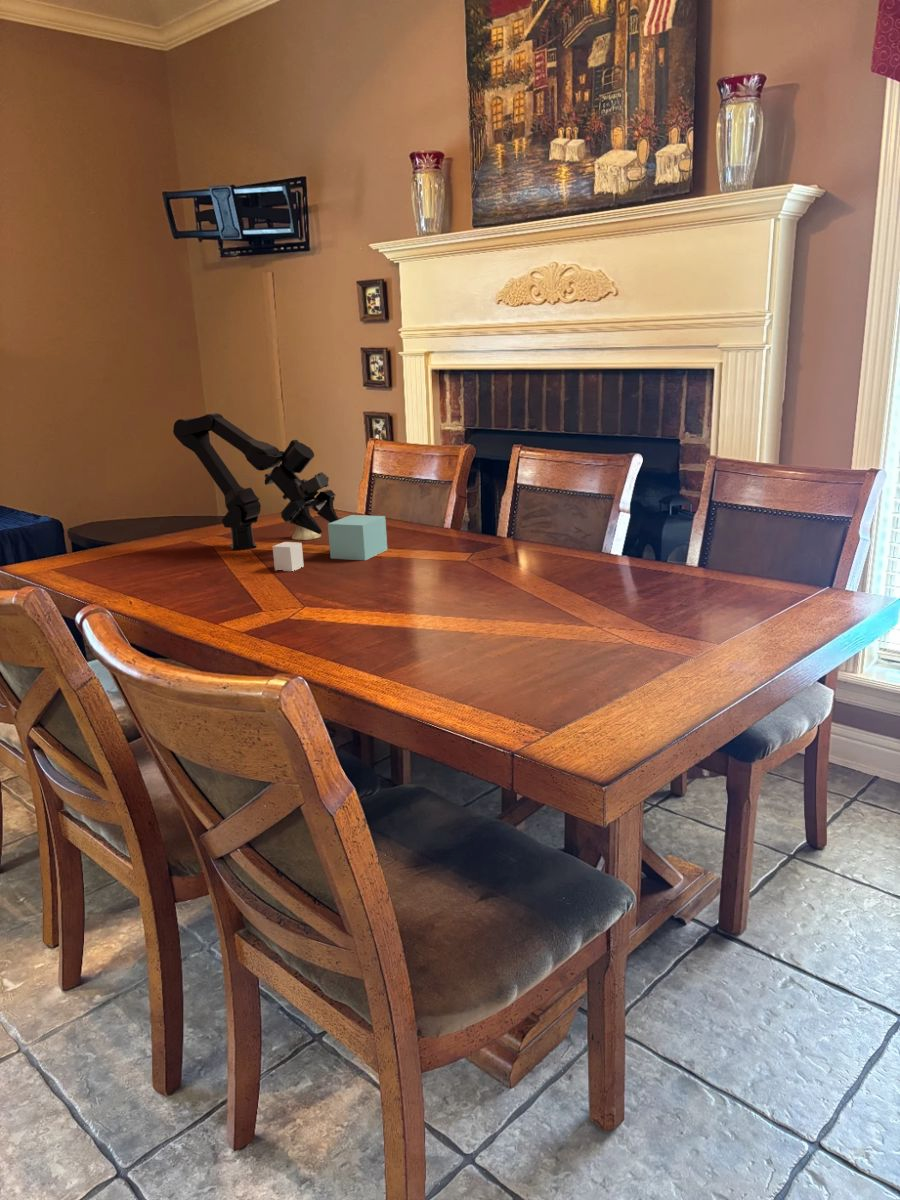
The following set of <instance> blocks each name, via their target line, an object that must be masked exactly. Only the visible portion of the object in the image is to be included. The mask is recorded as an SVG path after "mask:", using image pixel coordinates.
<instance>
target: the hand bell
mask: <svg viewBox="0 0 900 1200" xmlns="http://www.w3.org/2000/svg"><path fill="white" fill-rule="evenodd" d="M321 537H322V533H320V534H318V533H315V532H313V531H311V530H308V529H306V528H304V527H301V526H298V525H296V529H295V532H294V534H293V535H292V536H291V539H292V540H294V541H309V540H315V539H319V538H321Z"/></svg>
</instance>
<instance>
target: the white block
mask: <svg viewBox="0 0 900 1200" xmlns="http://www.w3.org/2000/svg"><path fill="white" fill-rule="evenodd" d="M271 547H272V556H273V563H274V565H273V566H274V571H277V570H283V571H282V572H291V571H293V572H295V571H297V570H299V569H301V567H302V568H304V567H305V565H304V555H303V544H302V542H294V541H283V542H280V543H278V544H275V545H272V546H271ZM294 570H295V571H294Z"/></svg>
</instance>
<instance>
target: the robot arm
mask: <svg viewBox="0 0 900 1200" xmlns="http://www.w3.org/2000/svg"><path fill="white" fill-rule="evenodd" d="M210 432H213V433H214V434H215V435H217V436H218V437H220V438H221V439H222V440H224V441H225V442H227V443H228V444H229V445H231V446H232V447H233V448H235V449H237V450H238V451H239V452H241V453H242V454H243V455H244V457H245V458H246V461H247V462H248V463H249V465H250V464H251V466H252V467H253V468H254V469H255V470H257V471H262V472H263V471H267V470H270V469H272V470H271V471H270V472H268V473H265V474H264V485H272V484H274V485H276V487H277V488H278V489H279V490H280V492H281V493H282V494H283V495H282V498H283V500H289V502H288V503H287V504H286V506H285V507H284V508H283V509H282V511H280V515H281V519H282V520H283V521H284V522H285V523H286V524H287V523H289V524H291V525H296V526H297V525H298V526H301V527H304V528H306V529H308V530H311V531H313V532H315V533H318V534H322V533H323V530H322V528H321V527H320V526H319V524H318V522H316V520H315V519H314V517H313V516H312V515H311V513H310V509H313V510H314V511H315V512H317V513H316V514H317V515H318V516H319V517H321V518H322V519H324V520H326V521H327V522H328V523H331V522H334V521H337V520H339V517H338V515H337V513H336V510H335V508H334V502H335V498H336V493H334V491H333V490H332V489H325V490H322V489H323V488H327V487H329V486H330V485H329V479H330V478H329V476H327V475H326V474H325V473H324V472H323V471H322V472H318V473H317V474H314V476H313V477H312V478H310V479H308V480H307V479H304V478H303V479H301V478H300V477H299V476H298V475H297V474H301V473H303V471H304V470H305V469H306V467H308V465H309V464H310V462H311V461H312V460H313V459H314V457H315V453H314V450H312V448H311V447H310V446H307V445H306V444H304V443H303V442H300V441H299V440H298V439H292V440H291V441H290V442H289V444H288V446H287V447H286V449H285V450H284V451H283V450H279V448H278V447H276V446H274V445H272V444H270V443H268V442H264V441H261V440H258V439H255V438H253V437H252V436H251V435H249V434H247V433H246V432H245V431H243V430H242V429H240V428H239V427H237V426H236V425H234V423H232V422H231V421H229V420H228V419H226V418H224V417H223V414H221V413H216V412H213V413H207V414H204V415H203V416H200V417H196V416H194V417H187V418H181V419H177V420H176V421H175V422H174V424H173V429H172V433H173V435H174V437H175V438H176V440H177V441H178V442H180V444H181V445H182V446H183V447H185V448H186V449H189V451H191V452H193V453H194V455H196V457H197V459H199V462H201V464H202V465H203V467H204V468H205V470H206V471H207V472H208V474H209V476H210V477H211V479H212V480H213V481H214V483H215V485H217V487H218V488H219V490H220V491H221V493H222V495H223V496H224V503H225V508H226V509H227V513H226V514H225V515H224V516H223V518H222V519H221V522H222V525H223V527H224V528H229V529H230V535H231V543H230V545H229V546H230V548H231V550H232V551H237V550H247V549H252V548H253V549H254V548H257V544H256V542H255V540H254V534H253V525H252V524H254V523H257V522H258V518H259V515H260V513H261V507H262V504H261V503H260V501H259V500H260V498H259V496H257V495H256V494H255V492H254V490H253V489H252V487H247V488H244V487H243V486H242V485H240V484H239V483H238V481H237V479H236V478H235V476H234V475H233V473H231V471H230V469H229V468H228V467H227V465H226V464H225V463H224V461H223V459H222V458H221V456H220V455H219V454H218V452H217V451H216V450H215V448H214V447H213V445H212V444H211V439H210ZM296 473H297V474H296ZM319 490H321V491H320V492H319Z"/></svg>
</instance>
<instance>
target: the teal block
mask: <svg viewBox="0 0 900 1200" xmlns="http://www.w3.org/2000/svg"><path fill="white" fill-rule="evenodd" d="M338 519H339V518H338ZM386 523H387V522H386V516H385V515H363V514H362V515H361V514H360V515H357V514H351V515H348V516H345V517H343V518H340V519H339V520H337V521H334V522H331V523H330V522H328V523H327V531H328V532H327V533H328V544H329V553H330V559H333V560H334V559H335V560H337V559H338V560H350V561H352V560H355V561H367V560H369V559H371V558H373V557H375V556H377V554H378V555H380V554H382V553H383V552H385V551H388V537H387V524H386Z"/></svg>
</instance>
